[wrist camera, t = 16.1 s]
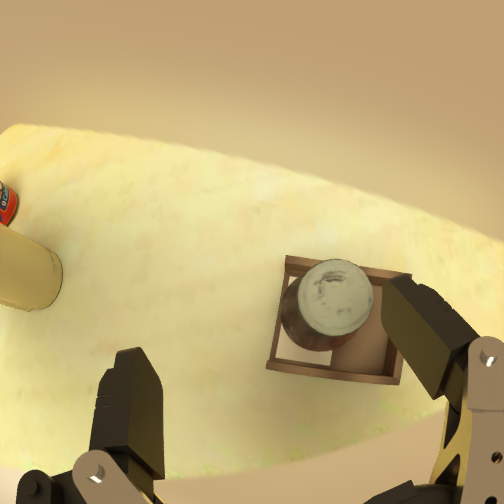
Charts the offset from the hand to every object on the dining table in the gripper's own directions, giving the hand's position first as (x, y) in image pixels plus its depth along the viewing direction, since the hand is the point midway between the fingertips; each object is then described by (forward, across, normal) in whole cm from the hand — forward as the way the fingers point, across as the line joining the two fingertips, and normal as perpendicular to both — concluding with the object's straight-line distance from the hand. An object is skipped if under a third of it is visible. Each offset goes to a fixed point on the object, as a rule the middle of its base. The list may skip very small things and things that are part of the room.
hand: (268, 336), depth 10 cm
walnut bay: (+18, -9, +19) cm, 28 cm away
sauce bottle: (+18, -6, +18) cm, 26 cm away
